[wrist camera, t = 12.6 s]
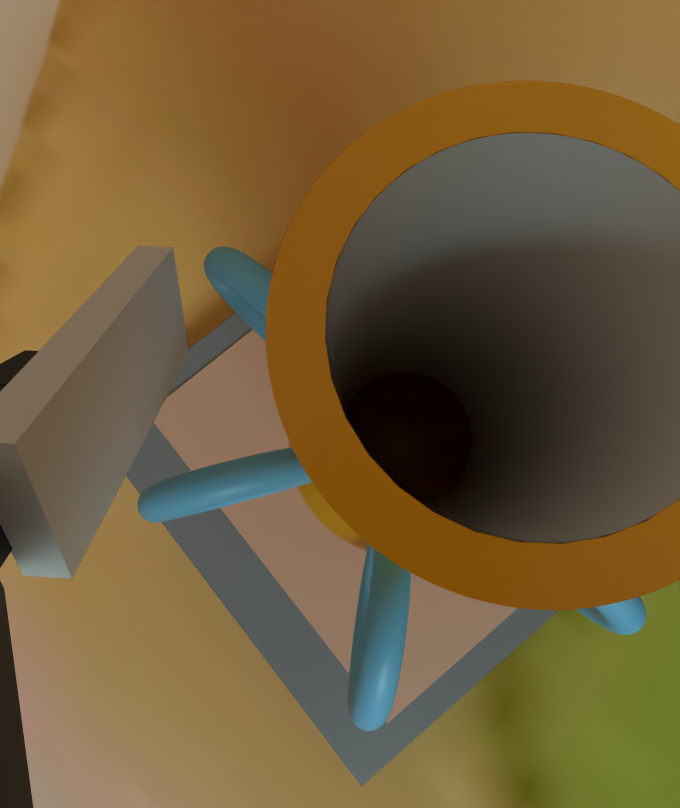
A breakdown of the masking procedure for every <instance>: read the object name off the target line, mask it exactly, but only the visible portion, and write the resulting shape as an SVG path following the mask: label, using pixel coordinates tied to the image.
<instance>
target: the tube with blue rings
mask: <svg viewBox="0 0 680 808" xmlns="http://www.w3.org/2000/svg"><path fill="white" fill-rule="evenodd" d="M204 269H205V273H206V276H207V278H208V279H209V281H210V283H211V284H212V286H213V287H214V288H215V290H216V291H217V292H218V293H219V295H220V296H221V297H222V298H223V299H224V300H225V301H226V303H227V304H228V305H229V306H230V307H231V308H232V309H233V310H234V311H235V312H236V313H237V314H238V315H239V316H240V317H241V318H242V320H243V321H244V322H245V323H246V324H247V325H249V326H250V327H251V328H252V329H253V330H254V331H255V332H256V333H257V334H258V335H259V336H260V337H261V338H262V339H263V340H264V341H265V342H266V355H267V364H268V371H269V377H270V383H271V387H272V392H273V396H274V400H275V403H276V407H277V410H278V413H279V416H280V419H281V422H282V425H283V427H284V430H285V432H286V435H287V437H288V439H289V448H285V449H279V450H274V451H269V452H264V453H260V454H255V455H251V456H246V457H242V458H238V459H234V460H230V461H226V462H222V463H218V464H214V465H211V466H207V467H203V468H200V469H196V470H193V471H190V472H186V473H183V474H180V475H177V476H174V477H171V478H168V479H165V480H162V481H160V482H157V483H155V484H153V485H151V486H149V487H148V488H146V489H145V490H144V491H143V492H142V493H141V495H140V497H139V499H138V510H139V513H140V515H141V516H142V517H143V518H144V519H146V520H147V521H150V522H164V521H168V520H173V519H177V518H181V517H185V516H189V515H193V514H197V513H201V512H205V511H209V510H213V509H217V508H221V507H224V506H228V505H232V504H236V503H240V502H243V501H247V500H251V499H255V498H258V497H262V496H266V495H269V494H273V493H277V492H280V491H284V490H288V489H291V488H295V487H297V488H298V491H299V493H300V495H301V497H302V498H303V500H304V502H305V504H306V505H307V507H308V508H309V510H310V511H311V512H312V513H313V515H314V516H315V517H316V518H317V519H318V520H319V522H320V523H321V524H322V525H323V526H325V527H326V528H327V529H328V530H329V531H330V532H332V533H333V534H334V535H336V536H337V537H339V538H340V539H342V540H343V541H345V542H347V543H349V544H351V545H353V546H355V547H357V548H360V549H362V550H365V551H366V556H365V562H364V567H363V573H362V579H361V585H360V591H359V598H358V605H357V612H356V619H355V627H354V634H353V643H352V651H351V661H350V671H349V683H348V711H349V715H350V718H351V720H352V722H353V723H354V724H355V725H356V726H357V727H358V728H360V729H362V730H365V731H373V730H376V729H378V728H380V727H381V726H382V725H383V724H384V723H385V721H386V720H387V718H388V716H389V714H390V712H391V709H392V706H393V703H394V699H395V696H396V691H397V687H398V682H399V677H400V672H401V666H402V661H403V654H404V647H405V640H406V632H407V623H408V614H409V602H410V588H411V573H412V574H414V575H416V576H418V577H420V578H422V579H424V580H426V581H428V582H430V583H432V584H434V585H437V586H439V587H441V588H444V589H446V590H449V591H451V592H454V593H457V594H460V595H463V596H466V597H469V598H472V599H476V600H480V601H483V602H488V603H492V604H497V605H502V606H508V607H514V608H523V609H535V610H573V609H576V610H578V611H579V612H580V613H582V614H583V615H585V616H586V617H588V618H589V619H591V620H592V621H594V622H595V623H597V624H599V625H600V626H602V627H604V628H606V629H608V630H610V631H612V632H615V633H618V634H623V635H629V634H633V633H636V632H637V631H639V630H640V629H641V628H642V627H643V625H644V623H645V620H646V611H645V607H644V604H643V602H642V600H641V598H640V596H642V595H645V594H648V593H651V592H653V591H656V590H658V589H661V588H663V587H665V586H667V585H670V584H672V583H674V582H676V581H678V580H680V125H679V124H677V123H675V122H674V121H672V120H670V119H669V118H667V117H665V116H663V115H661V114H659V113H657V112H655V111H653V110H651V109H649V108H647V107H645V106H643V105H640V104H638V103H635V102H633V101H630V100H628V99H625V98H622V97H619V96H616V95H613V94H610V93H607V92H603V91H599V90H596V89H591V88H587V87H582V86H577V85H571V84H564V83H556V82H544V81H507V82H496V83H488V84H481V85H475V86H470V87H466V88H461V89H457V90H454V91H450V92H446V93H443V94H440V95H437V96H434V97H431V98H429V99H426V100H424V101H421V102H419V103H416V104H414V105H412V106H410V107H408V108H406V109H404V110H402V111H400V112H398V113H396V114H394V115H392V116H391V117H389V118H387V119H386V120H384V121H382V122H381V123H379V124H378V125H376V126H375V127H373V128H372V129H370V130H369V131H368V132H366V133H365V134H364V135H362V136H361V137H360V138H358V139H357V140H356V141H355V142H354V143H352V144H351V145H350V146H349V147H348V148H347V149H346V150H345V151H343V152H342V153H341V154H340V155H339V156H338V157H337V158H336V159H335V160H334V161H333V162H332V164H331V165H330V166H329V167H328V168H327V169H326V170H325V171H324V173H323V174H322V175H321V176H320V177H319V179H318V180H317V181H316V183H315V184H314V185H313V187H312V188H311V189H310V191H309V192H308V194H307V195H306V197H305V198H304V200H303V202H302V203H301V205H300V207H299V208H298V210H297V212H296V214H295V216H294V217H293V219H292V221H291V223H290V225H289V228H288V230H287V232H286V234H285V237H284V239H283V242H282V244H281V247H280V250H279V253H278V256H277V259H276V262H275V266H274V270H273V274H272V273H271V272H270V271H269V270H267V269H266V268H265V267H263V266H262V265H261V264H259V263H258V262H257V261H255V260H254V259H252V258H251V257H249V256H247V255H246V254H244V253H242V252H240V251H238V250H236V249H233V248H230V247H218V248H215V249H213V250H211V251H210V252H209V253H208V255H207V256H206V258H205V262H204Z"/></svg>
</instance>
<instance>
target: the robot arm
mask: <svg viewBox="0 0 680 808" xmlns="http://www.w3.org/2000/svg"><path fill="white" fill-rule="evenodd" d="M188 355H189V349H188V343H187V336H186V330H185V323H184V317H183V310H182V304H181V297H180V291H179V284H178V278H177V271H176V265H175V258H174V252H173V247H154V246H138V247H137V248H136V249H135V250H134V251H133V252H132V253H131V254H130V255H129V256H128V257H127V258H126V260H125V261H124V262H123V263H122V264H121V265H120V266H119V267H118V268H117V269H116V270H115V271H114V272H113V273H112V274H111V275H110V276H109V277H108V279H107V280H106V281H105V282H104V283H103V284H102V285H101V286H100V287H99V288H98V289H97V290H96V291H95V292H94V293H93V294H92V295H91V296H90V298H89V299H88V300H87V301H86V302H85V303H84V304H83V305H82V306H81V307H80V308H79V309H78V310H77V311H76V312H75V313H74V314H73V315H72V317H71V318H70V319H69V320H68V321H67V322H66V323H65V324H64V325H63V326H62V327H61V328H60V329H59V330H58V331H57V332H56V333H55V335H54V336H53V337H52V338H51V339H50V340H49V341H48V342H47V343H46V344H45V345H44V346H43V347H42V348H41V349H40V350H39V351H27V350H25V351H23V352H21V353H20V354H18V355H16V356H14V357H12V358H10V359H9V360H7V361H5V362H3V363H1V364H0V567H1V566H2V564H3V563H4V561H5V560H6V558H7V557H8V555H9V554H10V552H12V554H13V556H14V558H15V560H16V562H17V564H18V566H19V568H20V570H21V572H22V574H23V575H25V576H39V577H54V578H69V579H72V578H73V576H74V574H75V572H76V570H77V568H78V566H79V564H80V562H81V560H82V558H83V556H84V555H85V553H86V551H87V549H88V547H89V545H90V543H91V541H92V539H93V537H94V535H95V534H96V532H97V530H98V528H99V526H100V524H101V522H102V520H103V518H104V516H105V514H106V512H107V511H108V509H109V507H110V505H111V503H112V501H113V499H114V497H115V495H116V493H117V491H118V489H119V488H120V486H121V484H122V482H123V480H124V478H125V476H126V474H127V472H128V470H129V468H130V467H131V465H132V463H133V461H134V459H135V457H136V455H137V453H138V451H139V449H140V447H141V445H142V444H143V442H144V440H145V438H146V436H147V434H148V432H149V430H150V428H151V426H152V424H153V422H154V421H155V419H156V417H157V415H158V413H159V411H160V409H161V407H162V405H163V403H164V401H165V400H166V398H167V396H168V394H169V392H170V390H171V388H172V386H173V384H174V382H175V380H176V378H177V377H178V375H179V373H180V371H181V369H182V367H183V365H184V363H185V361H186V359H187V357H188ZM0 808H33V803H32V795H31V787H30V780H29V772H28V765H27V757H26V750H25V742H24V735H23V727H22V720H21V712H20V705H19V697H18V690H17V682H16V674H15V667H14V659H13V652H12V644H11V637H10V629H9V622H8V614H7V607H6V599H5V592H4V587H3V585H2V583H1V581H0Z"/></svg>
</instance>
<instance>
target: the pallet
mask: <svg viewBox="0 0 680 808" xmlns="http://www.w3.org/2000/svg"><path fill="white" fill-rule="evenodd" d="M285 448H289V439H288V437H287V435H286V432H285V430H284V427H283V425H282V422H281V419H280V416H279V413H278V410H277V407H276V403H275V400H274V396H273V392H272V387H271V383H270V377H269V371H268V364H267V355H266V342H265V341H264V340H263V339H262V338H261V337H260V336H259V335H258V334H257V333H256V332H255V331H254V330H253V329H252V328H251V327H250V326H249V325H247V324H246V323H245V322H244V321H243V320H242V318H241V317H240V316H239V315H238V314H237V313H236V312H235V313H234V314H233V315H232V316H230V317H229V318H228V319H226V320H225V321H224V322H223V323H221V324H220V325H219V326H218V327H216V328H215V329H214V330H212V331H211V332H210V333H209V334H207V335H206V336H205V337H204V338H202V339H201V340H200V341H199V342H197V343H196V344H195V345H193V346H192V347H191V348H190V349H189V355H188V357H187V359H186V361H185V363H184V365H183V367H182V369H181V371H180V373H179V375H178V377H177V378H176V380H175V382H174V384H173V386H172V388H171V390H170V392H169V394H168V396H167V398H166V400H165V401H164V403H163V405H162V407H161V409H160V411H159V413H158V415H157V417H156V419H155V421H154V422H153V424H152V426H151V428H150V430H149V432H148V434H147V436H146V438H145V440H144V442H143V444H142V445H141V447H140V449H139V451H138V453H137V455H136V457H135V459H134V461H133V463H132V465H131V467H130V468H129V470H128V472H127V474H126V476H127V477H128V478H129V480H130V481H131V482H132V484H133V485H134V486H135V488H136V489H137V490H138V492H139V493H140V494H141V493H142V492H143V491H144V490H145V489H146V488H148V487H149V486H151V485H153V484H155V483H157V482H160V481H162V480H165V479H168V478H171V477H174V476H177V475H180V474H183V473H186V472H190V471H193V470H196V469H200V468H203V467H207V466H211V465H214V464H218V463H222V462H226V461H230V460H234V459H238V458H242V457H246V456H251V455H255V454H260V453H264V452H269V451H274V450H279V449H285ZM162 523H163V525H164V526H165V527H166V529H167V530H168V531H169V533H170V534H171V535H172V537H173V538H174V539H175V540H176V542H177V543H178V544H179V546H180V547H181V548H182V550H183V551H184V552H185V554H186V555H187V556H188V558H189V559H190V560H191V562H192V563H193V564H194V566H195V567H196V568H197V570H198V571H199V572H200V573H201V575H202V576H203V577H204V579H205V580H206V581H207V583H208V584H209V585H210V587H211V588H212V589H213V591H214V592H215V593H216V595H217V596H218V597H219V599H220V600H221V601H222V602H223V604H224V605H225V606H226V608H227V609H228V610H229V612H230V613H231V614H232V616H233V617H234V618H235V620H236V621H237V622H238V624H239V625H240V626H241V628H242V629H243V630H244V632H245V633H246V634H247V635H248V637H249V638H250V639H251V641H252V642H253V643H254V645H255V646H256V647H257V649H258V650H259V651H260V653H261V654H262V655H263V657H264V658H265V659H266V661H267V662H268V663H269V665H270V666H271V667H272V668H273V670H274V671H275V672H276V674H277V675H278V676H279V678H280V679H281V680H282V682H283V683H284V684H285V686H286V687H287V688H288V690H289V691H290V692H291V694H292V695H293V696H294V698H295V699H296V700H297V701H298V703H299V704H300V705H301V707H302V708H303V709H304V711H305V712H306V713H307V715H308V716H309V717H310V719H311V720H312V721H313V723H314V724H315V725H316V727H317V728H318V729H319V731H320V732H321V733H322V734H323V736H324V737H325V738H326V740H327V741H328V742H329V744H330V745H331V746H332V748H333V749H334V750H335V752H336V753H337V754H338V756H339V757H340V758H341V760H342V761H343V762H344V764H345V765H346V766H347V767H348V769H349V770H350V771H351V773H352V774H353V775H354V777H355V778H356V779H357V781H358V782H359V783H360V785H361V786H362V785H363V784H365V783H366V782H367V781H368V780H369V779H370V778H371V777H372V776H374V775H375V774H376V773H377V772H378V771H379V770H380V769H381V768H382V767H384V766H385V765H386V764H387V763H388V762H389V761H390V760H391V759H393V758H394V757H395V756H396V755H397V754H398V753H399V752H400V751H402V750H403V749H404V748H405V747H406V746H407V745H408V744H409V743H410V742H412V741H413V740H414V739H415V738H416V737H417V736H418V735H419V734H421V733H422V732H423V731H424V730H425V729H426V728H427V727H428V726H430V725H431V724H432V723H433V722H434V721H435V720H436V719H437V718H438V717H440V716H441V715H442V714H443V713H444V712H445V711H446V710H447V709H449V708H450V707H451V706H452V705H453V704H454V703H455V702H456V701H457V700H459V699H460V698H461V697H462V696H463V695H464V694H465V693H466V692H468V691H469V690H470V689H471V688H472V687H473V686H474V685H475V684H477V683H478V682H479V681H480V680H481V679H482V678H483V677H484V676H485V675H487V674H488V673H489V672H490V671H491V670H492V669H493V668H494V667H496V666H497V665H498V664H499V663H500V662H501V661H502V660H503V659H505V658H506V657H507V656H508V655H509V654H510V653H511V652H512V651H513V650H515V649H516V648H517V647H518V646H519V645H520V644H521V643H522V642H524V641H525V640H526V639H527V638H528V637H529V636H530V635H531V634H533V633H534V632H535V631H536V630H537V629H538V628H539V627H540V626H541V625H543V624H544V623H545V622H546V621H547V620H548V619H549V618H550V617H552V616H553V615H554V614H555V613H556V612H557V611H558V610H535V609H523V608H514V607H508V606H502V605H497V604H492V603H488V602H483V601H480V600H476V599H472V598H469V597H466V596H463V595H460V594H457V593H454V592H451V591H449V590H446V589H444V588H441V587H439V586H437V585H434V584H432V583H430V582H428V581H426V580H424V579H422V578H420V577H418V576H416V575H414V574H412V573H411V588H410V602H409V614H408V623H407V632H406V640H405V647H404V654H403V661H402V666H401V672H400V677H399V682H398V687H397V691H396V696H395V699H394V703H393V706H392V709H391V712H390V714H389V716H388V718H387V720H386V721H385V723H384V724H383V725H382V726H381V727H380V728H378V729H376V730H373V731H365V730H362V729H360V728H358V727H357V726H356V725H355V724H354V723H353V722H352V720H351V718H350V715H349V711H348V683H349V671H350V661H351V651H352V643H353V634H354V627H355V619H356V612H357V605H358V598H359V591H360V585H361V579H362V573H363V567H364V562H365V556H366V551H365V550H362V549H360V548H357V547H355V546H353V545H351V544H349V543H347V542H345V541H343V540H342V539H340V538H339V537H337V536H336V535H334V534H333V533H332V532H330V531H329V530H328V529H327V528H326V527H325V526H323V525H322V524H321V523H320V522H319V520H318V519H317V518H316V517H315V516H314V515H313V513H312V512H311V511H310V510H309V508H308V507H307V505H306V504H305V502H304V500H303V498H302V497H301V495H300V493H299V491H298V488H297V487H295V488H291V489H288V490H284V491H280V492H277V493H273V494H269V495H266V496H262V497H258V498H255V499H251V500H247V501H243V502H240V503H236V504H232V505H228V506H224V507H221V508H217V509H213V510H209V511H205V512H201V513H197V514H193V515H189V516H185V517H181V518H177V519H173V520H168V521H164V522H162Z"/></svg>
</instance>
